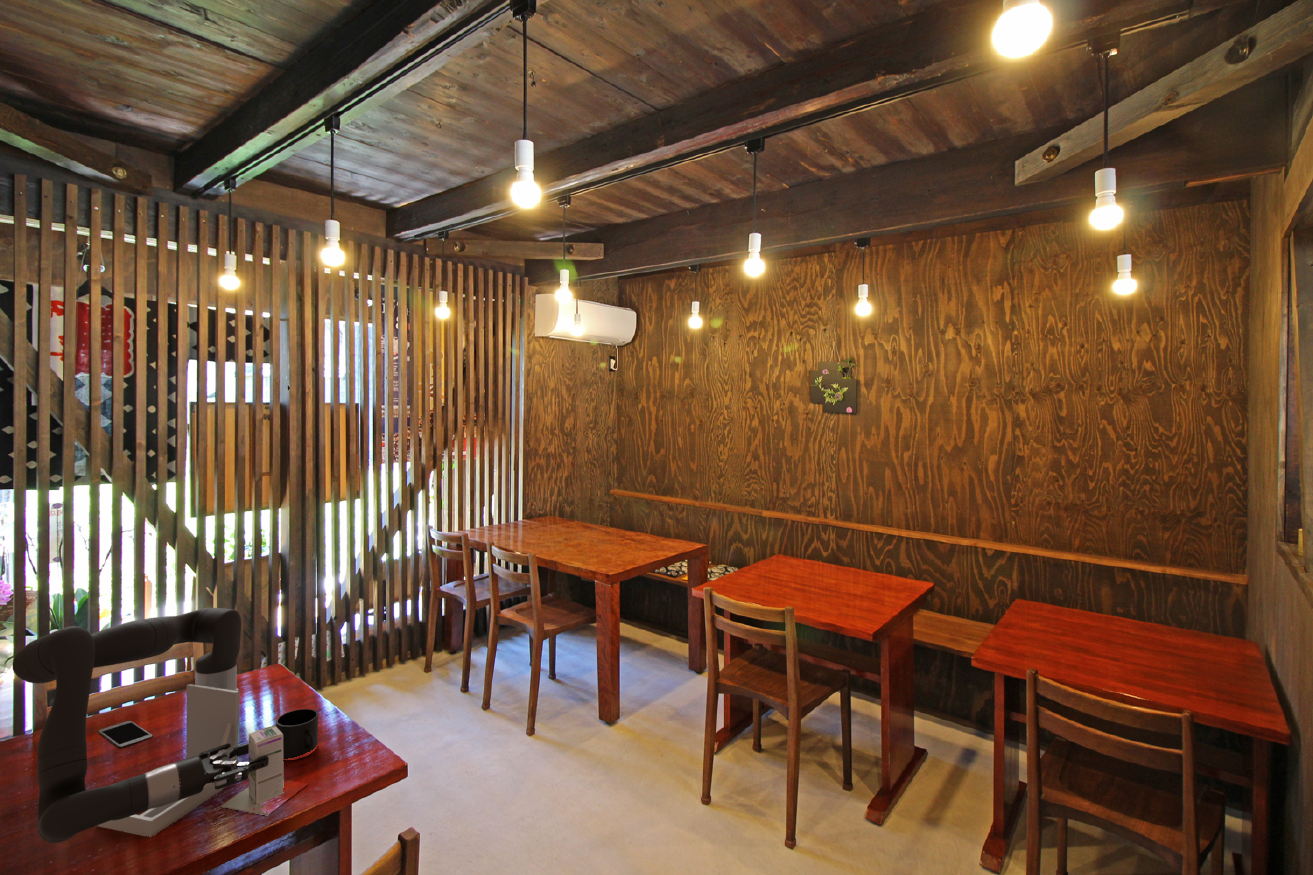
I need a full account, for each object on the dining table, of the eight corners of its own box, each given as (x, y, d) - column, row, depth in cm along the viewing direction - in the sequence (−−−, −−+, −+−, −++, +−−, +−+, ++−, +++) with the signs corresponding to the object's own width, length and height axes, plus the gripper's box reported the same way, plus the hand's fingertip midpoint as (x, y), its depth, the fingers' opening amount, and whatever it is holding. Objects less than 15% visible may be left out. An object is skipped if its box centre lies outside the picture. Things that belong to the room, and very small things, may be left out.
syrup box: (284, 794, 144) (285, 732, 143) (255, 806, 139) (255, 742, 139) (276, 784, 147) (276, 723, 147) (247, 795, 143) (247, 732, 142)
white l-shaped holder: (189, 770, 152) (189, 683, 151) (238, 779, 149) (238, 691, 148) (96, 825, 132) (96, 725, 131) (151, 837, 129) (151, 734, 128)
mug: (293, 769, 154) (294, 733, 154) (268, 753, 161) (268, 719, 160) (330, 752, 162) (331, 718, 162) (305, 738, 169) (305, 705, 168)
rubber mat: (264, 776, 151) (264, 775, 151) (308, 784, 148) (308, 783, 148) (220, 807, 139) (220, 805, 139) (267, 816, 137) (267, 814, 136)
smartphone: (130, 721, 174) (130, 718, 174) (154, 738, 167) (154, 734, 167) (96, 733, 168) (96, 730, 168) (119, 750, 160) (119, 747, 160)
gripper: (181, 778, 125) (272, 748, 138) (165, 751, 135) (251, 725, 147) (181, 815, 126) (272, 781, 138) (165, 785, 135) (251, 756, 147)
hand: (261, 752), depth 142 cm, fingers open, 8 cm apart
